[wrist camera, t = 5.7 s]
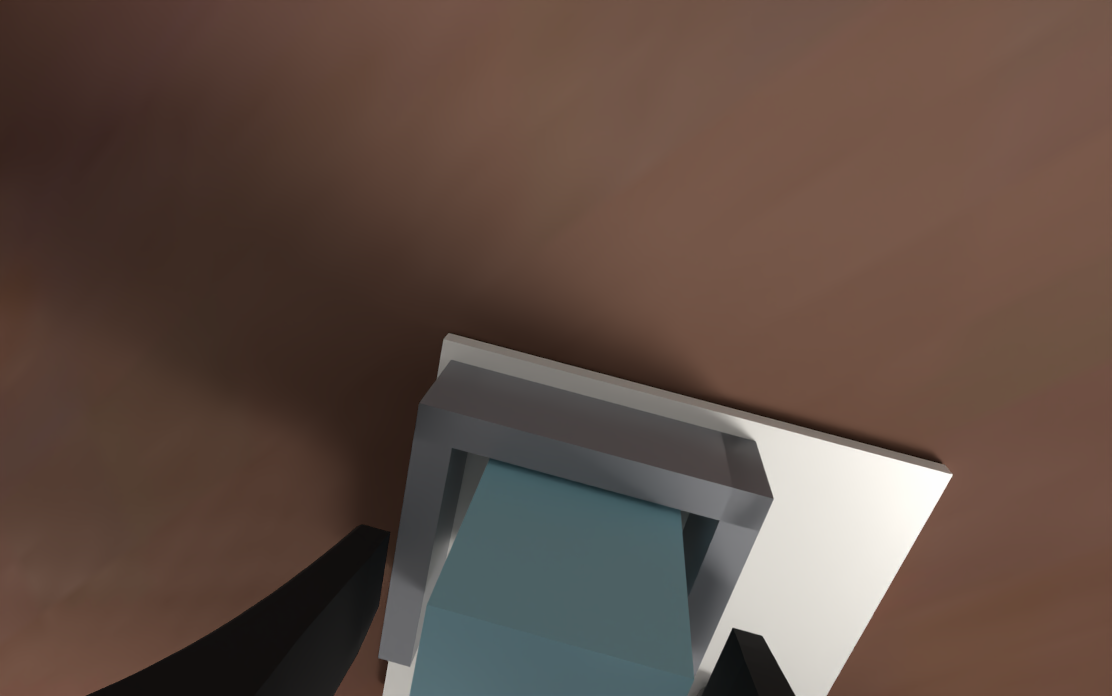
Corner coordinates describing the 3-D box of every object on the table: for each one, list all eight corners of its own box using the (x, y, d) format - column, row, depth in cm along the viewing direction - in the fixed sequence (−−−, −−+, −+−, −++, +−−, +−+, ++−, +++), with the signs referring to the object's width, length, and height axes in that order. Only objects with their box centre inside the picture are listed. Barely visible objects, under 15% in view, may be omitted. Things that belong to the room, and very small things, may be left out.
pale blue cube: (624, 605, 16) (612, 864, 11) (475, 564, 17) (389, 799, 11) (676, 458, 15) (694, 679, 9) (509, 413, 15) (426, 604, 9)
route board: (754, 804, 19) (765, 880, 17) (385, 698, 19) (358, 761, 18) (945, 465, 14) (989, 520, 12) (448, 332, 15) (420, 367, 13)
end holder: (663, 651, 17) (666, 740, 15) (414, 581, 18) (377, 658, 15) (752, 432, 15) (774, 498, 12) (456, 353, 15) (419, 402, 12)
